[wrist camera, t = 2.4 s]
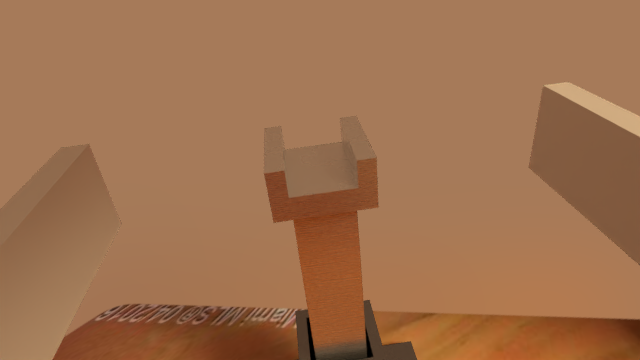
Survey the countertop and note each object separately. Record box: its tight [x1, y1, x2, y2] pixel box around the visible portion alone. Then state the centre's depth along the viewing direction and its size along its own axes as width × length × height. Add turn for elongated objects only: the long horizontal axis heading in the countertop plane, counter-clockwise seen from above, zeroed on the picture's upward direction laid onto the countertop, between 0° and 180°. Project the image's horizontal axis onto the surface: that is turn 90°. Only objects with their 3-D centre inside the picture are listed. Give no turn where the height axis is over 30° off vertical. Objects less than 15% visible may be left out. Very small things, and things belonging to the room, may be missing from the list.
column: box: [264, 116, 379, 360], centre depth 30 cm, size 6×6×28 cm
